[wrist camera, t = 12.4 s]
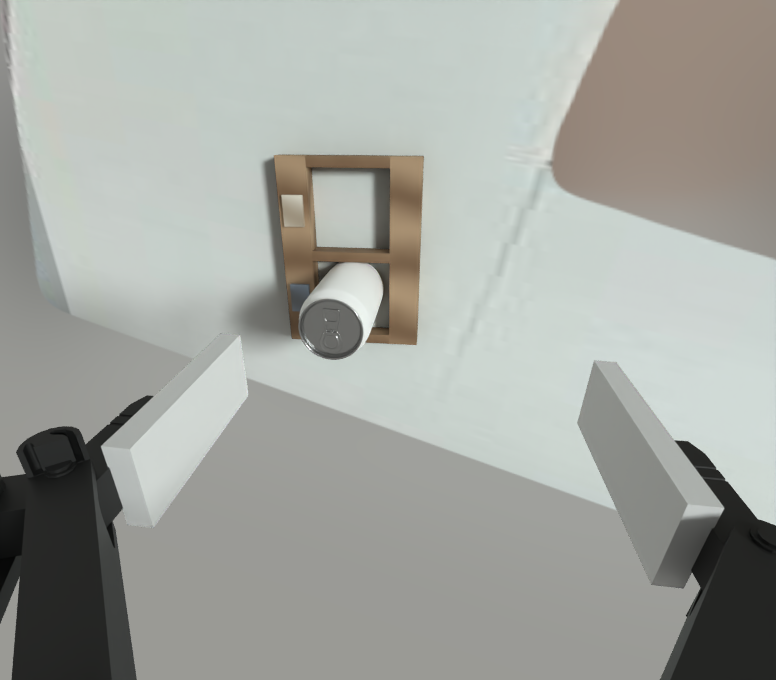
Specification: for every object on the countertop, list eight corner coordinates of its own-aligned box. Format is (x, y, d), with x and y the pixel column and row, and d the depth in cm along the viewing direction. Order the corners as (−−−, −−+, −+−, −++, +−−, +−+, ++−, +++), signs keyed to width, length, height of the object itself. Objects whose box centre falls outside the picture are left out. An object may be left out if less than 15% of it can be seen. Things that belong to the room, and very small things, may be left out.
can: (326, 312, 49) (294, 360, 39) (325, 255, 47) (291, 290, 36) (382, 317, 49) (367, 367, 38) (385, 260, 46) (369, 297, 35)
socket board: (280, 154, 43) (272, 155, 41) (423, 155, 41) (422, 157, 39) (297, 331, 51) (290, 340, 49) (417, 337, 50) (416, 346, 47)
